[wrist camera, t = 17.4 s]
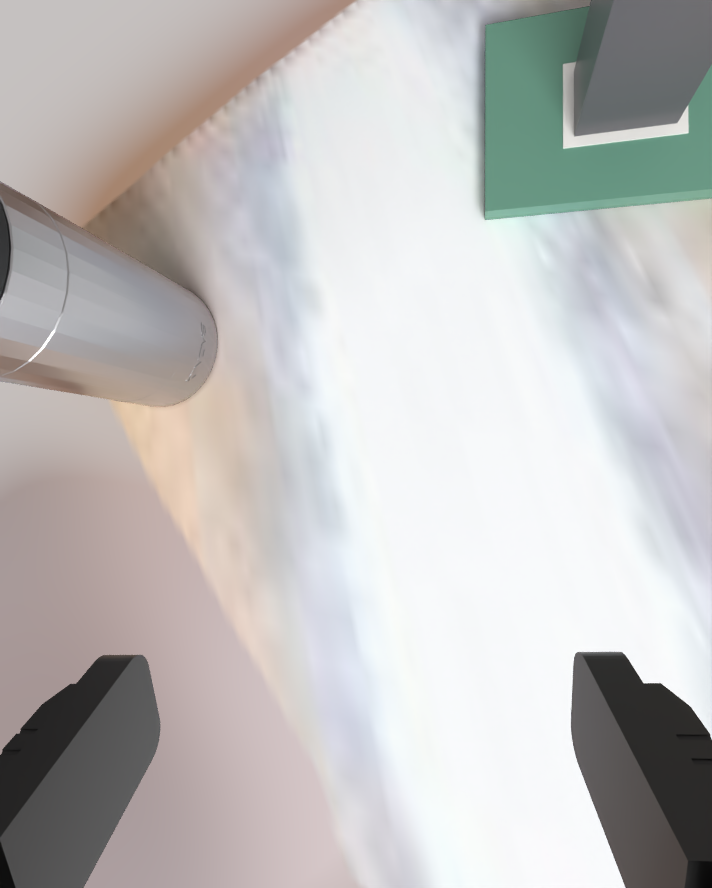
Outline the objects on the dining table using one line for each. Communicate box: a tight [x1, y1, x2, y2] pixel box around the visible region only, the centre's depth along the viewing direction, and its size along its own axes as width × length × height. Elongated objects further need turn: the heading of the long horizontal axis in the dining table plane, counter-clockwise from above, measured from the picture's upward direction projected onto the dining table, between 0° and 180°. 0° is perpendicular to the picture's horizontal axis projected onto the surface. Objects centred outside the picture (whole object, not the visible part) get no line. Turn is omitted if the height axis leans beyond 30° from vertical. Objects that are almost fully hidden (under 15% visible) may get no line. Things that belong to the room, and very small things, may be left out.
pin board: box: [485, 6, 712, 220], centre depth 30 cm, size 16×12×4 cm
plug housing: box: [574, 0, 712, 137], centre depth 26 cm, size 6×4×10 cm
